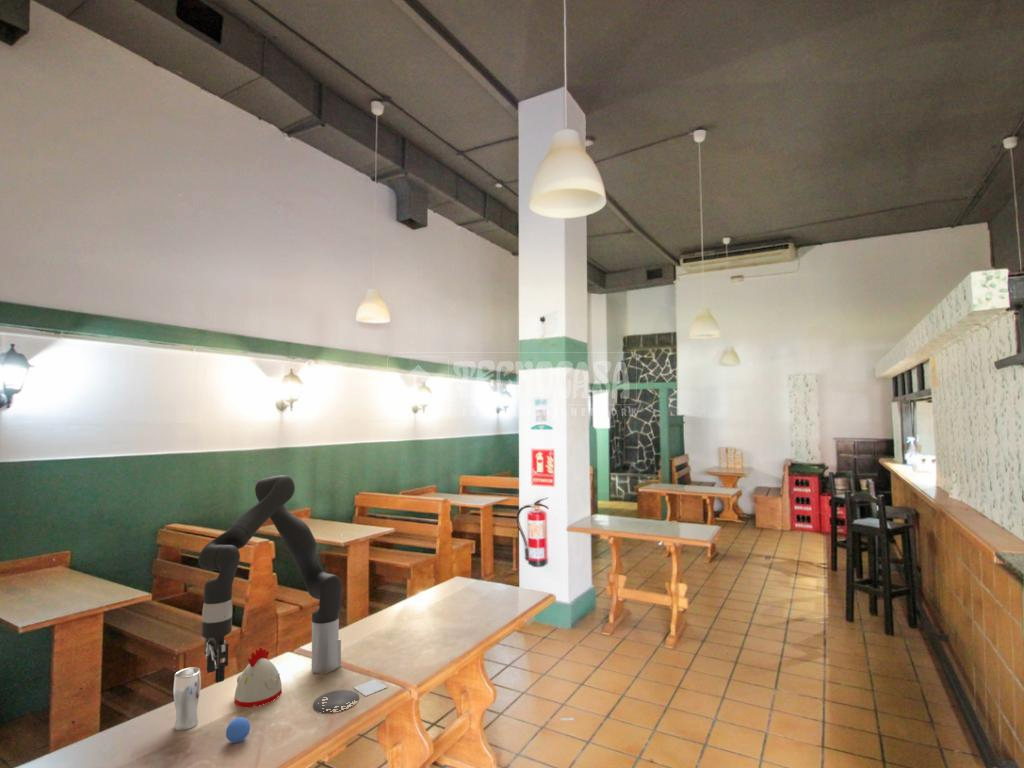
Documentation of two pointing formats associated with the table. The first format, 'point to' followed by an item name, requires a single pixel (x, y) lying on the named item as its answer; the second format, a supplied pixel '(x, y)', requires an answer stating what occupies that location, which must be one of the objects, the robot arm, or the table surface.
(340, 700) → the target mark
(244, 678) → the kitchen timer
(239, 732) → the ball
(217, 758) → the table surface
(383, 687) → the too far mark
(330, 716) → the table surface
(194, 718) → the beer glass
